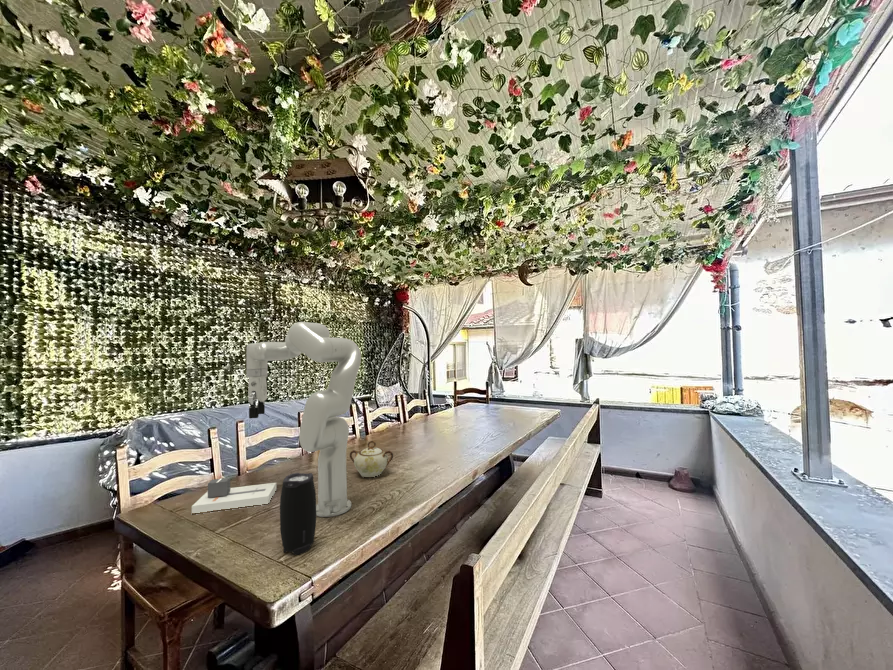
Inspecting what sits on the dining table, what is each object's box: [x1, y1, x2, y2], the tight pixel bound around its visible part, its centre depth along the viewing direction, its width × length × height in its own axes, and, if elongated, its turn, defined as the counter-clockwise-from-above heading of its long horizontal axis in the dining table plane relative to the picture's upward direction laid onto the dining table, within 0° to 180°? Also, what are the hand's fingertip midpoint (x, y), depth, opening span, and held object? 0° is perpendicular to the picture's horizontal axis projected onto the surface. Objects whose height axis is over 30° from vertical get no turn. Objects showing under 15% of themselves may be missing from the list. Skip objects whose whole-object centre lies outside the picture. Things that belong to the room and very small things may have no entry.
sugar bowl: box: [349, 440, 394, 478], centre depth 151 cm, size 20×15×15 cm
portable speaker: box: [279, 472, 317, 556], centre depth 95 cm, size 9×9×20 cm
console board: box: [191, 482, 277, 514], centre depth 127 cm, size 14×24×3 cm, turn 106°
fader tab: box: [207, 477, 231, 498], centre depth 125 cm, size 4×6×5 cm
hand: (257, 415), depth 136 cm, fingers open, 9 cm apart
